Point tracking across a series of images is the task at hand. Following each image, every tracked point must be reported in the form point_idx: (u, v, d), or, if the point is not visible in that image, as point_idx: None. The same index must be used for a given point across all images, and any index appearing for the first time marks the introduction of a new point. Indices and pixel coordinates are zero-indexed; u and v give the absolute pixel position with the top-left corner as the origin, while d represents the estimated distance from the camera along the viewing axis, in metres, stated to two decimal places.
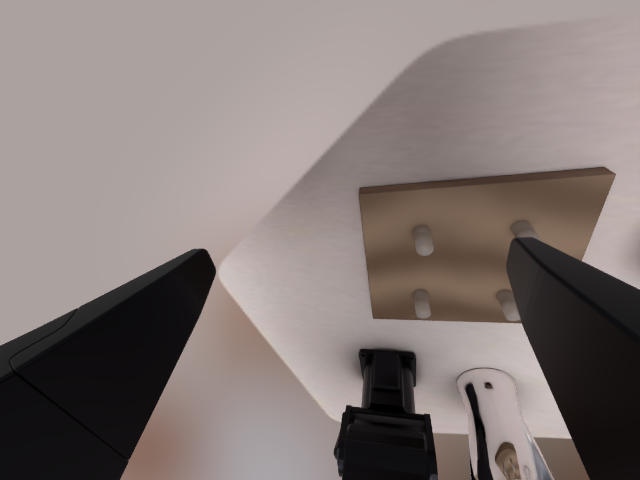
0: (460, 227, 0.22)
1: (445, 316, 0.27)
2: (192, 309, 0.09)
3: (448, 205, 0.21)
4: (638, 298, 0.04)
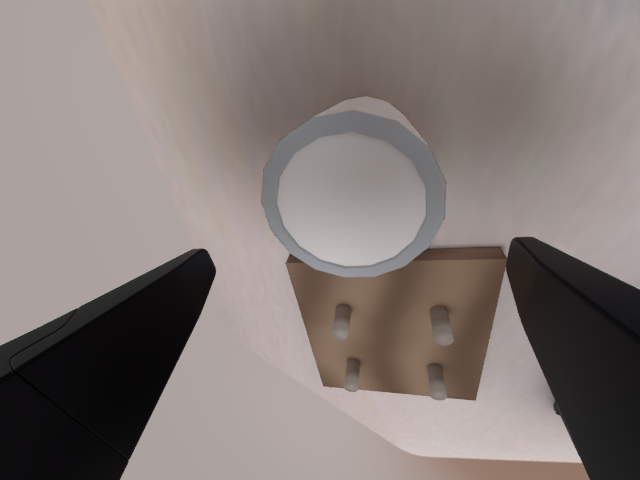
0: (347, 341, 0.24)
1: (476, 352, 0.22)
2: (192, 309, 0.09)
3: (327, 347, 0.25)
4: (638, 298, 0.04)
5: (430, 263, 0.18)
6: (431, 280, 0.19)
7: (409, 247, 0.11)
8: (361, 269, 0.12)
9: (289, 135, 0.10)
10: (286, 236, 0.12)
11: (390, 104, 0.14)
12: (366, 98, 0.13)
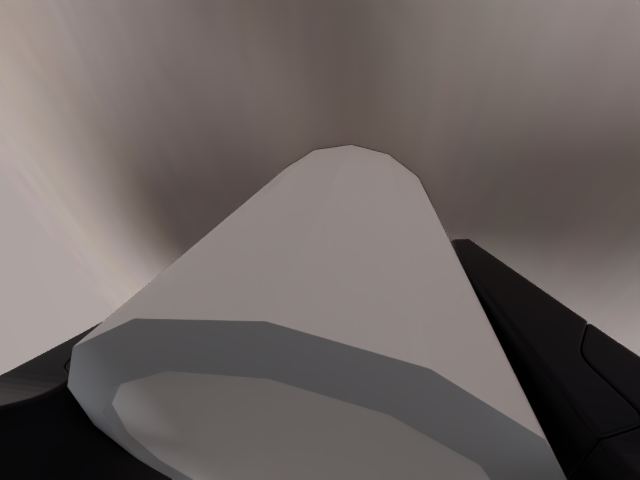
0: None
1: None
2: None
3: None
4: (535, 297, 0.05)
5: None
6: None
7: None
8: None
9: (91, 343, 0.03)
10: (169, 474, 0.05)
11: (395, 162, 0.08)
12: (349, 158, 0.07)
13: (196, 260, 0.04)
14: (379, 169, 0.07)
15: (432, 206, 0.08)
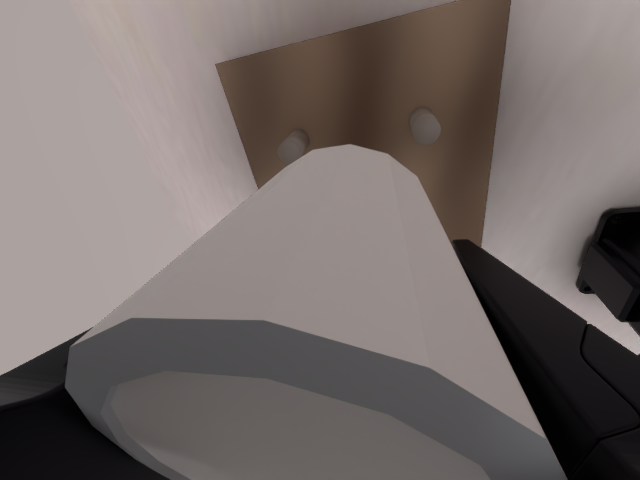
0: None
1: (475, 191, 0.17)
2: None
3: None
4: (534, 297, 0.05)
5: (404, 21, 0.13)
6: (408, 57, 0.14)
7: None
8: None
9: (88, 343, 0.03)
10: None
11: (394, 161, 0.08)
12: (348, 157, 0.07)
13: (194, 259, 0.03)
14: (378, 168, 0.07)
15: None
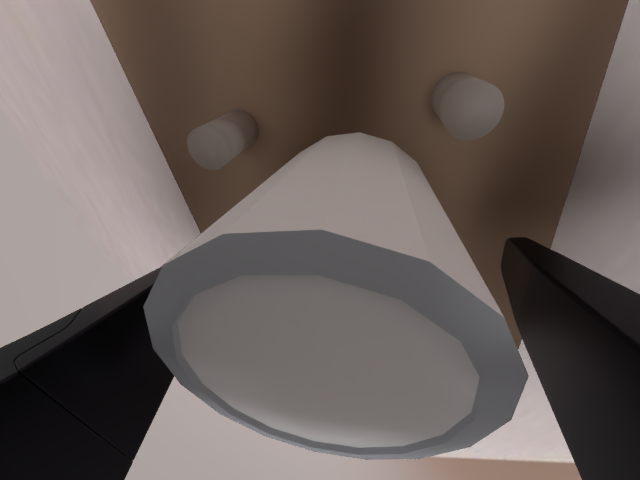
0: None
1: (536, 224, 0.10)
2: None
3: None
4: (628, 298, 0.05)
5: None
6: None
7: (432, 442, 0.06)
8: (342, 452, 0.07)
9: (179, 260, 0.04)
10: (208, 397, 0.07)
11: (397, 148, 0.09)
12: (359, 142, 0.08)
13: (253, 205, 0.05)
14: (385, 151, 0.08)
15: None
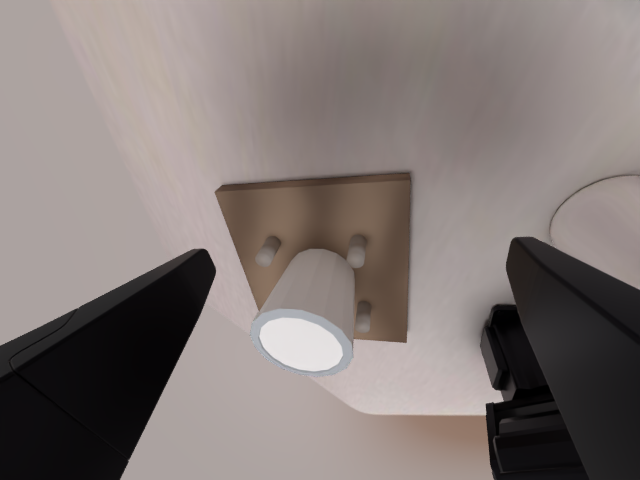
0: None
1: (399, 287, 0.23)
2: (192, 309, 0.09)
3: (264, 287, 0.26)
4: (638, 298, 0.04)
5: (343, 187, 0.19)
6: (347, 206, 0.20)
7: (336, 367, 0.19)
8: (309, 373, 0.20)
9: (267, 312, 0.17)
10: (264, 352, 0.20)
11: (338, 257, 0.22)
12: (321, 259, 0.21)
13: (285, 297, 0.18)
14: (330, 264, 0.21)
15: (350, 274, 0.22)
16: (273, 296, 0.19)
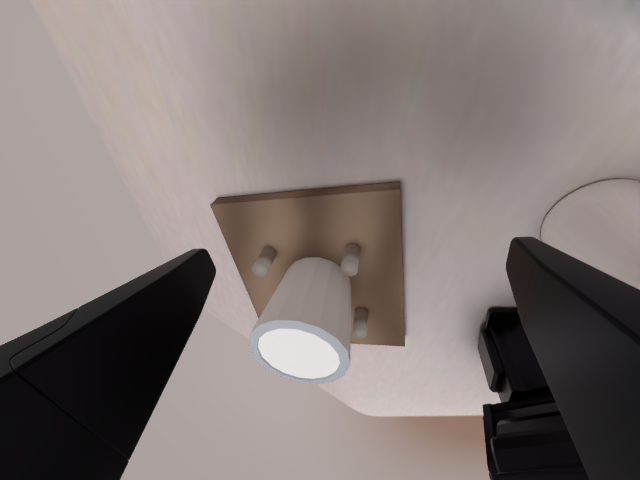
0: None
1: (395, 293, 0.23)
2: (192, 309, 0.09)
3: (263, 295, 0.27)
4: (638, 298, 0.04)
5: (335, 197, 0.20)
6: (340, 216, 0.20)
7: (334, 374, 0.19)
8: (308, 381, 0.20)
9: (264, 324, 0.18)
10: (263, 361, 0.20)
11: (333, 265, 0.22)
12: (316, 268, 0.22)
13: (281, 308, 0.18)
14: (325, 273, 0.21)
15: (345, 281, 0.22)
16: (270, 307, 0.19)
